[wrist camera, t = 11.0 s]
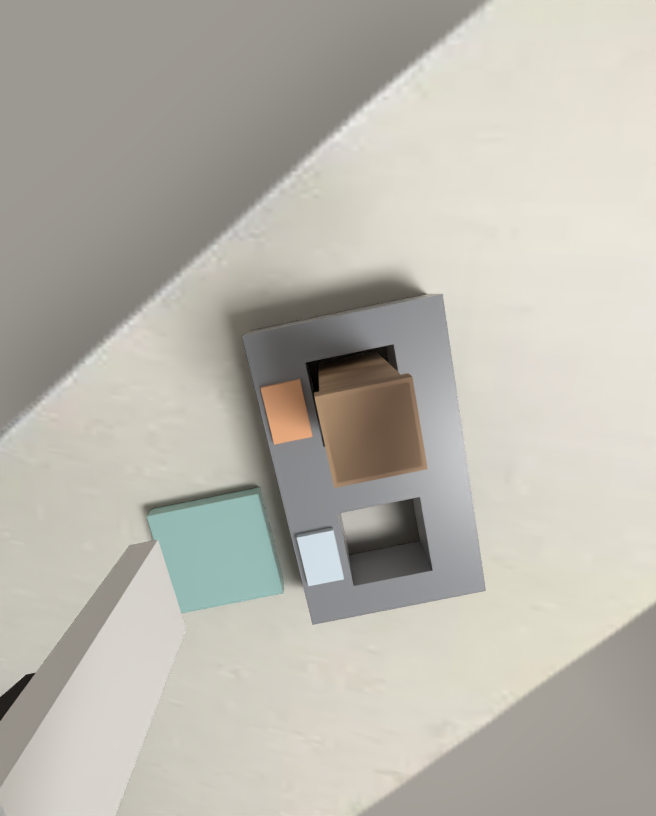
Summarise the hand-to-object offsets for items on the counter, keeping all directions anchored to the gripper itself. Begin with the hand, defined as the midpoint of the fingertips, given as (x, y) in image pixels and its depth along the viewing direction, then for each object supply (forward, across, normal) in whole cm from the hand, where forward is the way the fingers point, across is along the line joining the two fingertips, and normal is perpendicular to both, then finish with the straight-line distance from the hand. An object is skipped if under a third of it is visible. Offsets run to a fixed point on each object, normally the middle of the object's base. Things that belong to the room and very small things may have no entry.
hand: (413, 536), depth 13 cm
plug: (+22, 0, 0) cm, 22 cm away
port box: (+22, 0, -5) cm, 22 cm away
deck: (+22, -12, -10) cm, 26 cm away
